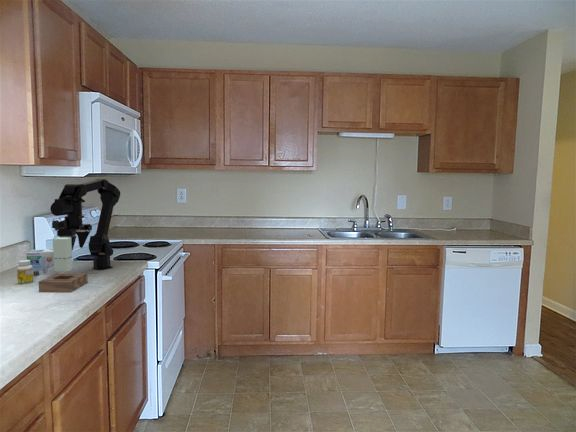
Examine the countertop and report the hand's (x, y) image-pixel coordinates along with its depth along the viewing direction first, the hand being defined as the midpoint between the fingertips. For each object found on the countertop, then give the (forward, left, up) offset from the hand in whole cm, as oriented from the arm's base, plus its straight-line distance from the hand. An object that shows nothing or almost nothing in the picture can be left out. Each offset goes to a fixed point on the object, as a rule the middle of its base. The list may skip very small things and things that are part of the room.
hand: (76, 249), depth 176 cm
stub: (+13, +13, -4) cm, 19 cm away
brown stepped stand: (+13, +13, -12) cm, 22 cm away
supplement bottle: (+18, -6, -12) cm, 23 cm away
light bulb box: (+6, -16, -12) cm, 21 cm away
